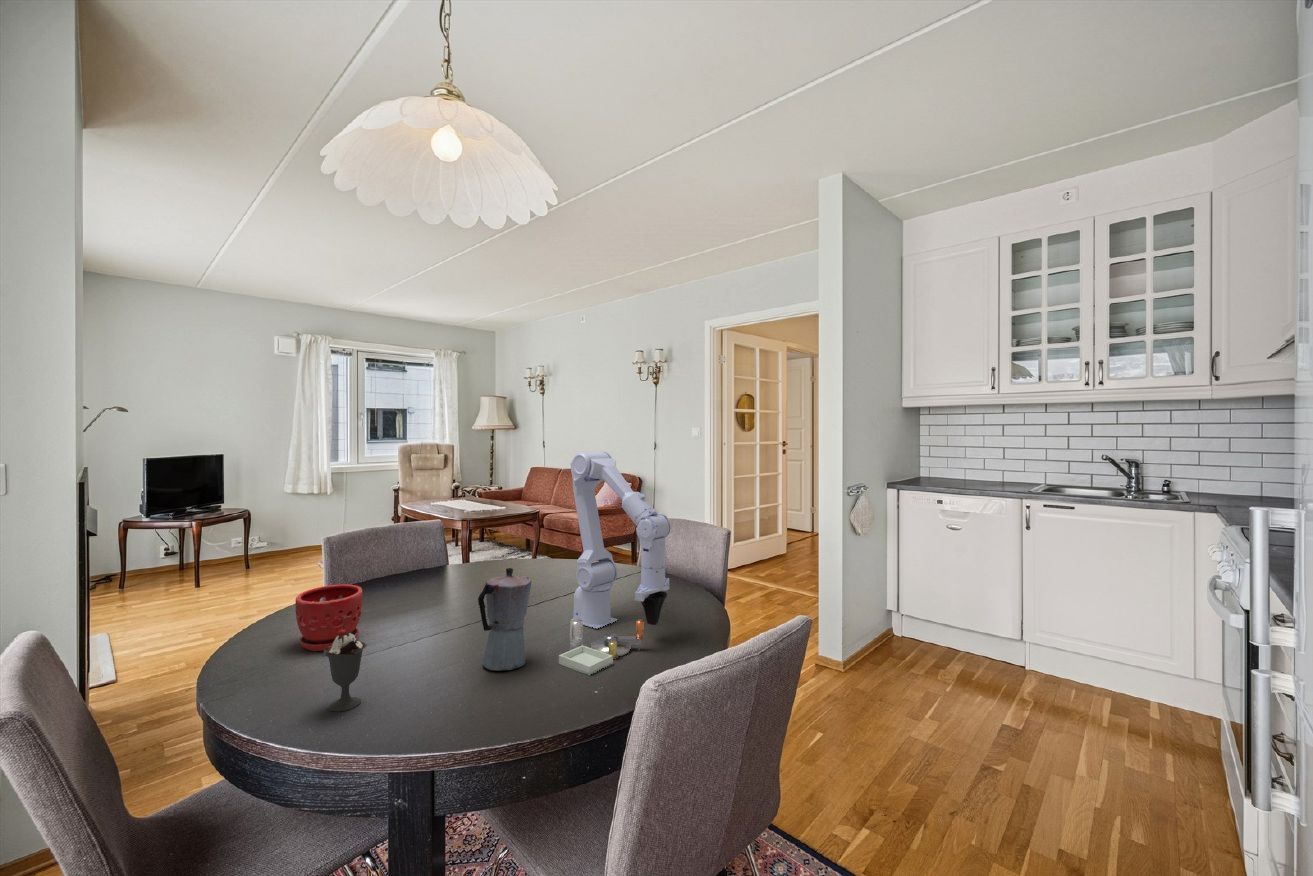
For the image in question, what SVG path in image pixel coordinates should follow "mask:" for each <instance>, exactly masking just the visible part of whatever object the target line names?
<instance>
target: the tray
mask: <svg viewBox="0 0 1313 876" xmlns="http://www.w3.org/2000/svg"><path fill="white" fill-rule="evenodd" d="M558 664H559V665H560V666H564V667H566V668H568V669H571V670H573V671H576V672H579V673H581V674H583V675H586V674H587V676H589V677H590V676H591V674H592V675H593V673H594V674H595V673H597V671H598V672H600V671H602V670H603V669H602V668H604V669H606V668H608V667H610V666H611V665H610V664H612V665H613V664H614V660H613V656H612V655H609V654H606V653H603V652H601V651H598V650H595V649H592V648H591V647H589V646H586V645H582V646H580V647H577V648H575V649H573V650H570V649H569V650H568V651H566V652H564V653H561V654H559V655H558ZM609 665H610V666H609ZM607 666H608V667H607ZM605 667H606V668H605ZM601 669H602V670H601ZM599 670H600V671H599Z"/></svg>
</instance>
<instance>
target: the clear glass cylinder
mask: <svg viewBox="0 0 1313 876" xmlns="http://www.w3.org/2000/svg"><path fill="white" fill-rule="evenodd" d="M572 619H573V618H572ZM569 622H570V623H569V625H570V626H569V651H570V650H573V649H575V648H577V647H580V646H582V645H583V639H584V638H583V634H584V633H583V632H584V629H583V627H584V625H583V620H581V619H573V620H571V619H570V621H569ZM583 646H584V645H583Z"/></svg>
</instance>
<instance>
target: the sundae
mask: <svg viewBox="0 0 1313 876" xmlns="http://www.w3.org/2000/svg"><path fill="white" fill-rule="evenodd" d="M338 621H340V622H341V619H338ZM341 623H342V622H341ZM367 646H368V644H366V643H365V642H363V641H361V640H358V639H357V638H355V636H354V635H353V634H352V633H350V632H347V631H346V630H344V625H343V623H342V629H341V630H339V631H338V636H337V637H336V638H335V640H334V642H333V644H332V646H329V647H326V648H325V649H324V651H323V656H324V657H328V661H329V668H330V675H331V679H332V682H333V683H334V684H336V685H338V686H340V687H341V692H340V693H341V694H340V698H339V699H336V700H335V701H333V702H331V704H329V706H328V709H329V710H330V711H331V712H345V711H350V710H352V709H355V708H356V707H358V706H359V705H360V704H361V703H362V700H361V698H360V697H357V696H351V694H350V685H351V684H352V683H353V682H355V681H356V679H357V678H358V676H359V673H360V668H361V663H362V657H363V656H362V655H363V651H364V649H365V648H367Z"/></svg>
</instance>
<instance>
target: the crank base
mask: <svg viewBox="0 0 1313 876" xmlns="http://www.w3.org/2000/svg"><path fill="white" fill-rule="evenodd" d="M590 648H592V649H595V650H598V651H601V652H603V653H606V654H609V655H612V656H613V659H615V658H616V657H617V656H619V655H624V654H626V653H627V652H628V651H629V650H630V649H631V650H632V645H617V642H616V641H610V642H609V646H607V645H605V644H604V637H600V638H597V639H595V640H594V641H592V642H591V643H590ZM617 658H618V657H617ZM615 660H616V659H615Z"/></svg>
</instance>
